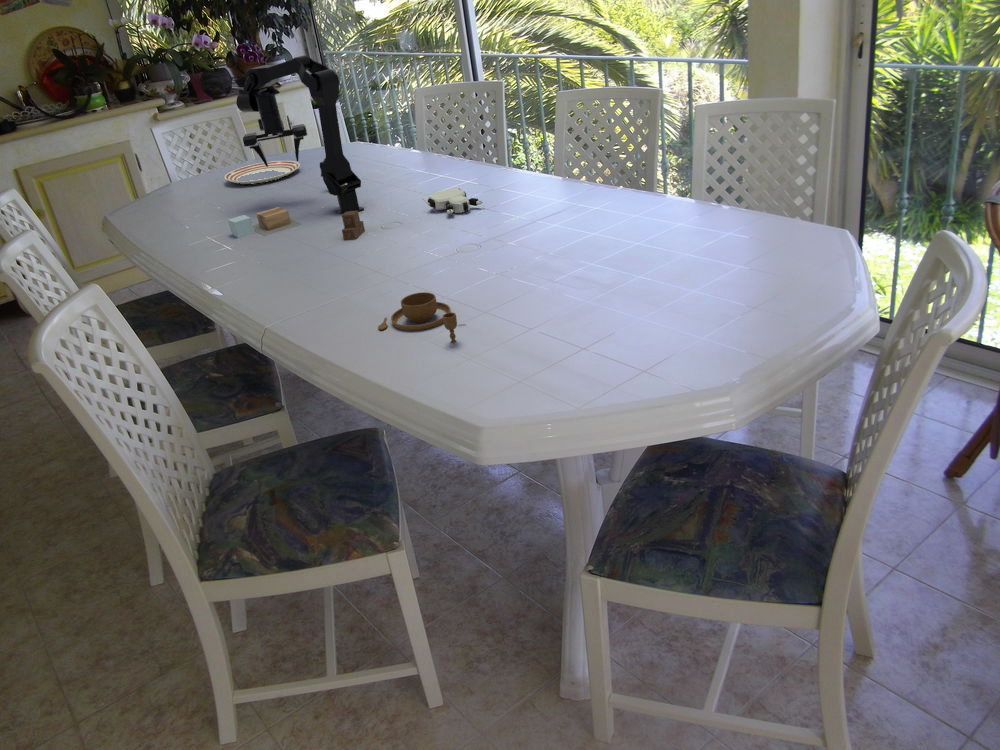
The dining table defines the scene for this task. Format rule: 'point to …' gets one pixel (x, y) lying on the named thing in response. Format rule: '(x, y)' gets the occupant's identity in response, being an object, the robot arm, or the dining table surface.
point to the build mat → (267, 232)
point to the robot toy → (451, 201)
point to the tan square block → (273, 218)
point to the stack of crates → (352, 225)
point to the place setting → (423, 314)
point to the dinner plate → (261, 167)
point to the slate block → (241, 226)
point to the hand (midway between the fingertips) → (282, 163)
